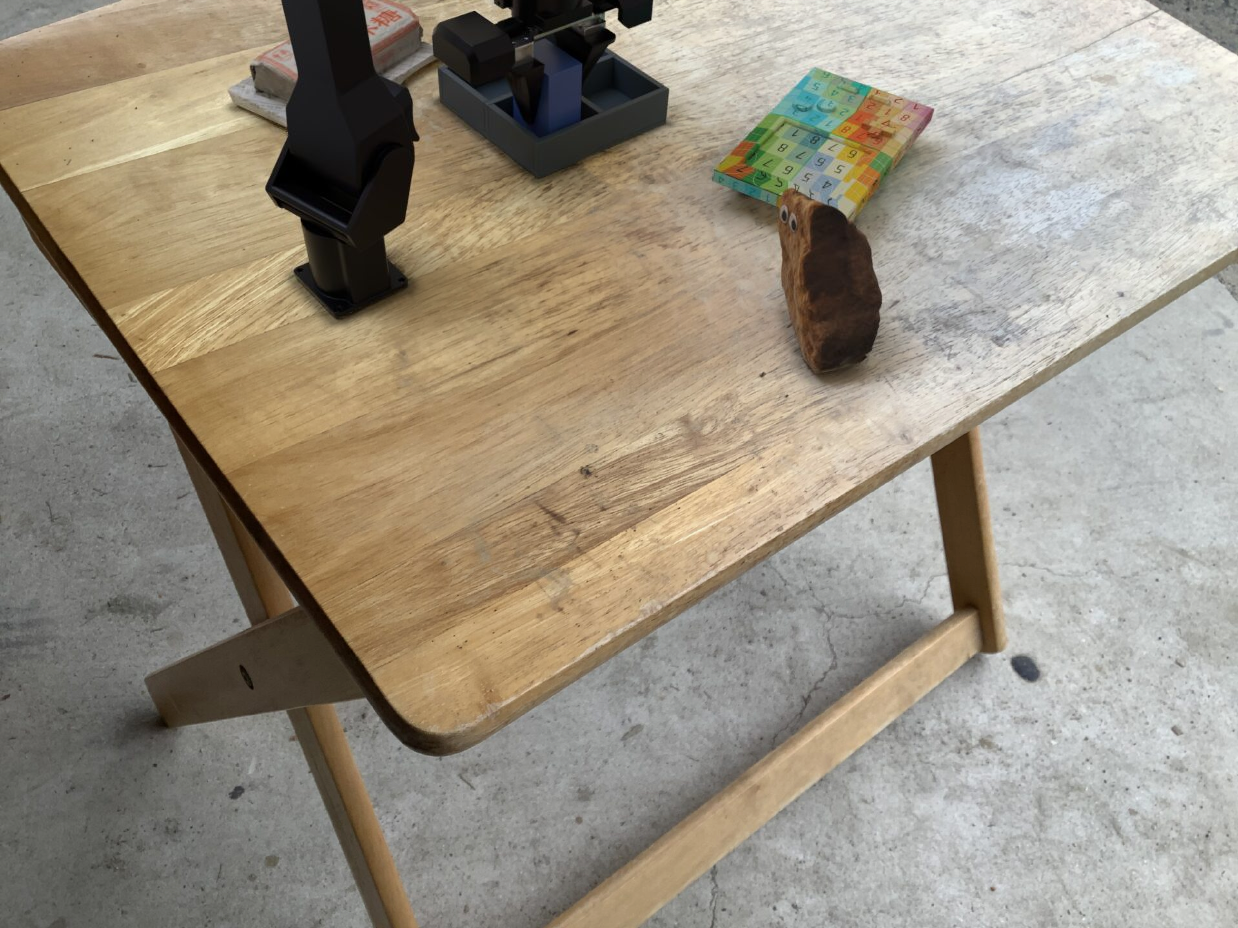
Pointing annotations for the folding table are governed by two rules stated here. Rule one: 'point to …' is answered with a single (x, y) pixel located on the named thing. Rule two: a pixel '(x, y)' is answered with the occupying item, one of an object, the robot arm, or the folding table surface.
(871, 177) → the puzzle game
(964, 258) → the folding table surface
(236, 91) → the packaged product
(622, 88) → the organiser
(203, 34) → the folding table surface
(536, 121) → the carton
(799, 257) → the decorative rock
